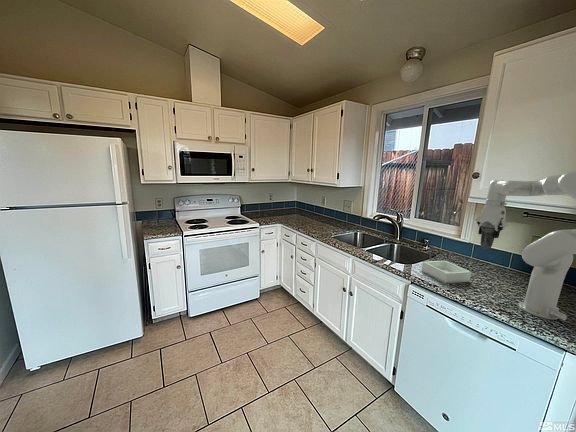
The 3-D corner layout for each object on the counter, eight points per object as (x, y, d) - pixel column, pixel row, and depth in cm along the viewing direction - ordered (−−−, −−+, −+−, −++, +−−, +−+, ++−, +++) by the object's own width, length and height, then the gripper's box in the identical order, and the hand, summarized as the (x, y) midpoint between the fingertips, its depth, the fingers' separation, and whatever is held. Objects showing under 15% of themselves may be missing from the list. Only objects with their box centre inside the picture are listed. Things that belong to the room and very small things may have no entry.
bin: (469, 281, 133) (471, 271, 132) (445, 283, 129) (446, 273, 128) (443, 269, 149) (445, 260, 148) (421, 270, 146) (423, 261, 144)
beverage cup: (497, 250, 125) (505, 213, 121) (481, 248, 126) (489, 212, 123) (488, 246, 132) (496, 211, 128) (474, 244, 133) (481, 210, 130)
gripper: (518, 206, 117) (511, 240, 120) (483, 201, 134) (477, 231, 137) (507, 206, 115) (499, 240, 119) (473, 201, 132) (467, 231, 135)
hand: (487, 235), depth 128 cm, fingers closed on beverage cup, 6 cm apart
